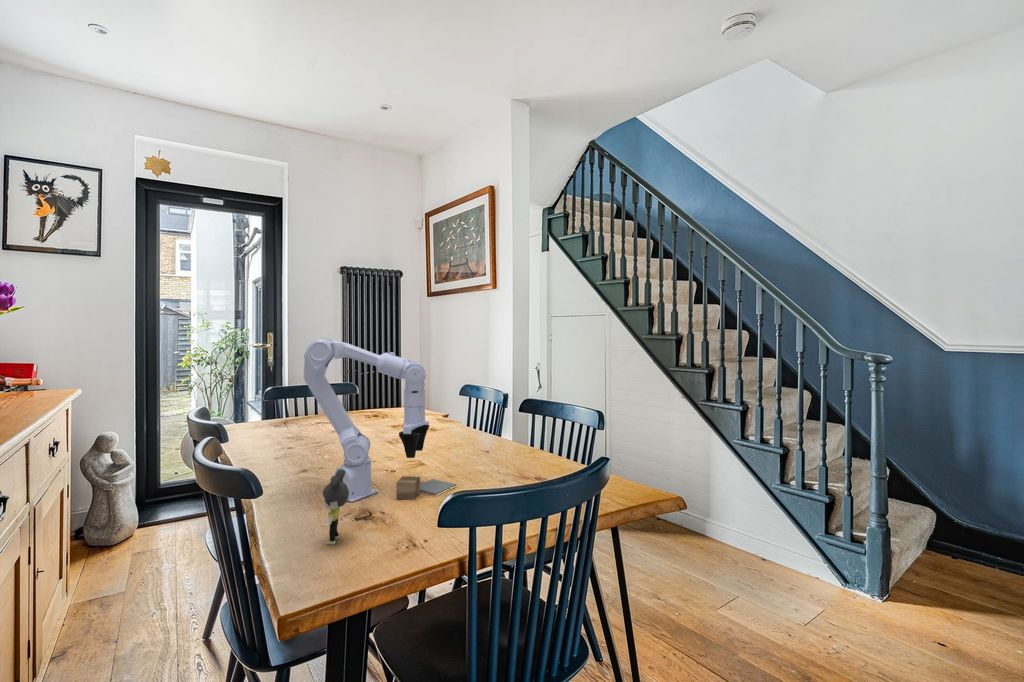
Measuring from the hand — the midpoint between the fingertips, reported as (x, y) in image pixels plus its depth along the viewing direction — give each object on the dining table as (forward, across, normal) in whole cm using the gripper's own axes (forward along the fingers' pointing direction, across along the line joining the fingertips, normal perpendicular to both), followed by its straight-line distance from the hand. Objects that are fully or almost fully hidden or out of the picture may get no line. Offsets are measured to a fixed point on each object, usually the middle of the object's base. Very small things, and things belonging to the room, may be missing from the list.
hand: (414, 453), depth 140 cm
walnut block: (+10, -6, 0) cm, 12 cm away
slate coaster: (+10, +2, -5) cm, 12 cm away
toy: (+10, -34, +7) cm, 36 cm away
